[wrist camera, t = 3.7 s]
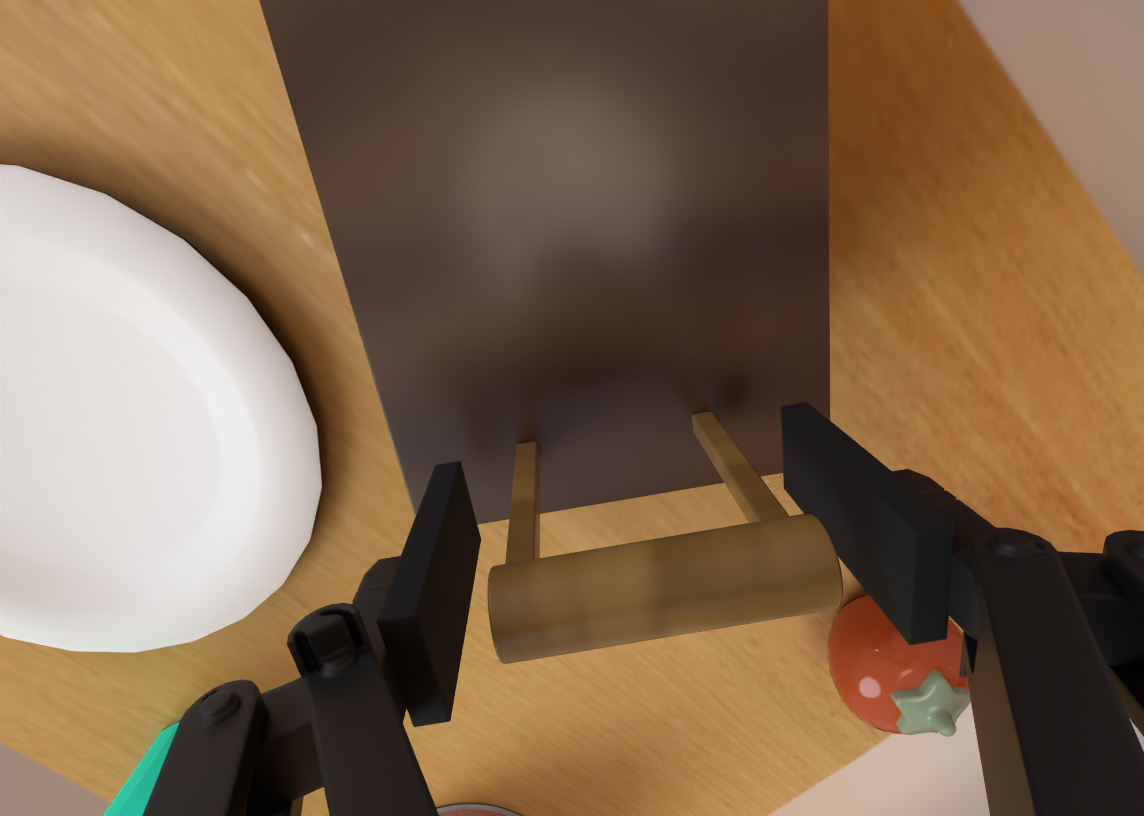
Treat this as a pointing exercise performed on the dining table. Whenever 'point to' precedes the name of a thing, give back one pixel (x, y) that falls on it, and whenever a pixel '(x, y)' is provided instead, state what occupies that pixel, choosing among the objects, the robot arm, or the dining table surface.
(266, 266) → the dining table surface
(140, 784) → the candle
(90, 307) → the plate
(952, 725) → the tomato
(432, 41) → the lid
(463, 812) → the canned food
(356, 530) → the dining table surface
